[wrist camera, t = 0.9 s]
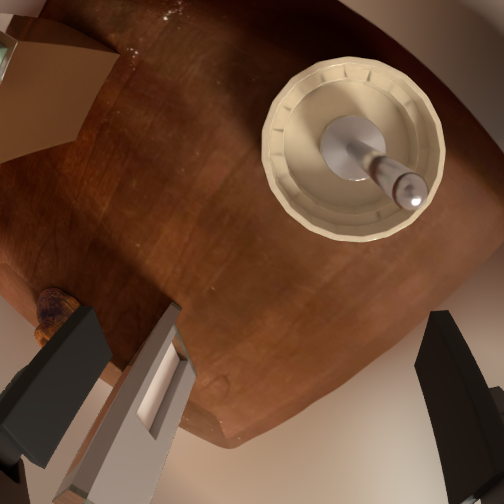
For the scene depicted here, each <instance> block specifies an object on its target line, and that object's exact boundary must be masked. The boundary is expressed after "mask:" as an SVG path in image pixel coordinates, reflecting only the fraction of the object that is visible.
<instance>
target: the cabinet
mask: <svg viewBox="0 0 504 504" xmlns="http://www.w3.org/2000/svg"><path fill="white" fill-rule="evenodd" d="M181 309H182V308H181V307H179V306H178V305H176V304H175V303H173V302H172V303H171V304H170V305H169V307H168V308H167V309H166V311H165V312H164V314H163V315H162V317H161V318H160V319H159V321H158V322H157V324H156V325H155V326H154V328H153V329H152V331H151V332H150V333H149V335H148V336H147V338H146V339H145V341H144V342H143V343H142V345H141V346H140V348H139V349H138V351H137V352H136V354H135V355H134V356H133V358H132V359H131V361H130V362H129V364H128V365H127V367H126V368H125V369H124V371H123V372H122V374H121V376H120V378H119V379H118V381H117V383H116V384H115V386H114V388H113V390H112V391H111V393H110V395H109V397H108V398H107V400H106V402H105V404H104V405H103V407H102V409H101V411H100V412H99V414H98V416H97V418H96V420H95V421H94V423H93V425H92V427H91V429H90V430H89V432H88V434H87V436H86V438H85V440H84V441H83V443H82V445H81V447H80V449H79V451H78V453H77V454H76V456H75V458H74V460H73V462H72V464H71V466H70V468H69V470H68V472H67V474H66V476H65V477H64V479H63V481H62V483H61V485H60V487H59V489H58V491H57V493H56V495H55V497H54V499H53V501H52V502H53V503H55V504H150V503H151V500H152V497H153V495H154V491H155V489H156V486H157V483H158V480H159V478H160V475H161V472H162V469H163V466H164V464H165V461H166V458H167V455H168V453H169V449H170V447H171V444H172V441H173V439H174V436H175V433H176V430H177V428H178V425H179V422H180V419H181V417H182V414H183V411H184V408H185V406H186V403H187V400H188V397H189V395H190V392H191V389H192V386H193V384H194V381H195V378H196V375H197V373H196V371H195V369H194V367H193V364H192V362H191V360H190V358H189V355H188V353H187V351H186V348H185V346H184V344H183V341H182V339H181V337H180V334H179V332H178V329H177V327H176V325H175V321H176V319H177V317H178V315H179V313H180V311H181Z"/></svg>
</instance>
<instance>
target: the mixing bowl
mask: <svg viewBox="0 0 504 504" xmlns="http://www.w3.org/2000/svg"><path fill="white" fill-rule="evenodd" d="M344 115H352V116H359V117H363V118H365V119H368V120H369V121H371V122H372V123H374V124H375V125H376V126H377V127H378V128H379V130H380V131H381V133H382V134H383V137H384V139H385V143H386V155H387V156H389V157H391V158H392V159H394V160H396V161H397V162H399V163H401V164H402V165H404V166H406V167H407V168H409V169H411V170H412V171H414V172H416V173H417V174H419V175H420V176H421V177H422V178H423V179H424V180H425V182H426V184H427V186H428V198H427V201H426V203H425V204H424V205H423V206H422V207H421V208H420V209H418V210H415V211H406V210H403V209H401V208H400V207H398V206H397V205H396V204H395V203H394V202H393V200H392V199H391V198H390V197H389V196H388V195H387V194H386V193H385V192H384V191H383V190H382V189H381V188H380V187H379V186H378V185H377V184H376V183H375V182H374V181H373V180H372V179H371V178H370V177H369V178H366V179H363V180H358V181H351V180H346V179H343V178H341V177H339V176H337V175H336V174H334V173H333V172H332V171H331V170H330V169H329V168H328V166H327V165H326V163H325V161H324V159H323V157H322V155H321V152H320V147H319V141H320V136H321V133H322V131H323V129H324V127H325V126H326V125H327V124H328V123H329V122H330V121H331V120H333V119H335V118H337V117H339V116H344ZM261 159H262V163H263V166H264V170H265V173H266V176H267V180H268V183H269V186H270V189H271V190H272V192H273V193H274V195H275V196H276V197H277V199H278V200H279V202H280V203H281V205H282V206H283V208H284V209H285V211H286V212H287V213H288V214H289V215H291V216H292V217H293V218H294V219H296V220H297V221H298V222H300V223H301V224H302V225H303V226H305V227H306V228H307V229H308V230H310V231H313V232H315V233H318V234H320V235H323V236H326V237H328V238H331V239H333V240H339V241H352V242H366V241H371V240H375V239H380V238H384V237H388V236H390V235H392V234H394V233H396V232H397V231H399V230H401V229H403V228H404V227H406V226H408V225H409V224H411V223H413V222H414V220H415V219H416V218H417V217H418V216H419V215H420V214H421V213H422V212H423V211H424V210H425V209H426V207H427V206H428V205H429V204H430V203H431V201H432V199H433V197H434V194H435V192H436V190H437V188H438V186H439V184H440V182H441V179H442V174H443V167H444V160H445V144H444V138H443V132H442V126H441V122H440V120H439V118H438V116H437V114H436V112H435V110H434V108H433V106H432V104H431V102H430V100H429V98H428V97H427V95H426V94H425V93H424V92H423V91H422V90H421V89H420V88H419V87H418V86H417V85H416V84H415V83H414V82H413V81H412V80H411V79H410V78H409V77H408V76H407V75H405V74H404V73H402V72H400V71H398V70H396V69H394V68H392V67H390V66H388V65H386V64H384V63H382V62H380V61H378V60H372V59H365V58H358V57H350V56H346V57H341V58H336V59H330V60H325V61H321V62H317V63H315V64H314V65H312V66H310V67H309V68H307V69H305V70H304V71H302V72H300V73H299V74H297V75H295V76H294V77H292V78H291V79H290V80H289V82H288V83H287V84H286V85H285V86H284V88H283V89H282V90H281V91H280V92H279V94H278V95H277V96H276V97H275V99H274V100H273V102H272V104H271V106H270V109H269V112H268V115H267V117H266V120H265V123H264V126H263V128H262V156H261Z"/></svg>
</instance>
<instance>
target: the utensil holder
mask: <svg viewBox="0 0 504 504" xmlns="http://www.w3.org/2000/svg"><path fill="white" fill-rule="evenodd" d="M119 56H120V54H119V53H117V52H115V51H114V50H112V49H110V48H108V47H106V46H105V45H103V44H101V43H99V42H97V41H96V40H94V39H92V38H90V37H88V36H86V35H84V34H83V33H81V32H79V31H77V30H75V29H73V28H71V27H69V26H67V25H65V24H63V23H61V22H57V21H52V20H46V19H40V18H34V17H28V16H20V15H12V14H3V13H0V164H1V163H3V162H6V161H9V160H12V159H15V158H18V157H21V156H24V155H27V154H30V153H33V152H36V151H40V150H43V149H46V148H50V147H53V146H57V145H60V144H64V143H68V142H71V141H75V140H76V138H77V135H78V133H79V131H80V129H81V127H82V125H83V122H84V120H85V118H86V116H87V114H88V112H89V110H90V108H91V106H92V104H93V102H94V100H95V98H96V96H97V94H98V93H99V91H100V89H101V87H102V85H103V83H104V82H105V80H106V78H107V76H108V74H109V73H110V71H111V69H112V68H113V66H114V64H115V62H116V61H117V59H118V57H119Z"/></svg>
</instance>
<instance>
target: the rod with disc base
mask: <svg viewBox="0 0 504 504" xmlns="http://www.w3.org/2000/svg"><path fill="white" fill-rule="evenodd" d="M319 147H320V152H321V155H322V157H323V159H324V161H325V163H326V165H327V166H328V168H329V169H330V170H331V171H332V172H333V173H334V174H336V175H337V176H339V177H341V178H343V179H346V180H351V181H358V180H363V179H366V178H369V177H370V178H371V179H372V180H373V181H374V182H375V183H376V184H377V185H378V186H379V187H380V188H381V189H382V190H383V191H384V192H385V193H386V194H387V195H388V196H389V197H390V198H391V199H392V200H393V202H394V203H395V204H396V205H397V206H398V207H400V208H401V209H403V210H406V211H415V210H418V209H420V208H421V207H422V206H423V205H424V204H425V203H426V201H427V198H428V186H427V184H426V182H425V180H424V179H423V178H422V177H421V176H420V175H419V174H417V173H416V172H414V171H412V170H411V169H409V168H407V167H406V166H404V165H402V164H401V163H399V162H397V161H396V160H394V159H392V158H391V157H389V156H387V155H386V143H385V139H384V137H383V134H382V133H381V131H380V130H379V128H378V127H377V126H376V125H375V124H374V123H372V122H371V121H369V120H368V119H365V118H363V117H359V116H352V115H344V116H339V117H337V118H335V119H333V120H331V121H330V122H329V123H328V124H327V125H326V126H325V127H324V129H323V131H322V133H321V136H320V141H319Z"/></svg>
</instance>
